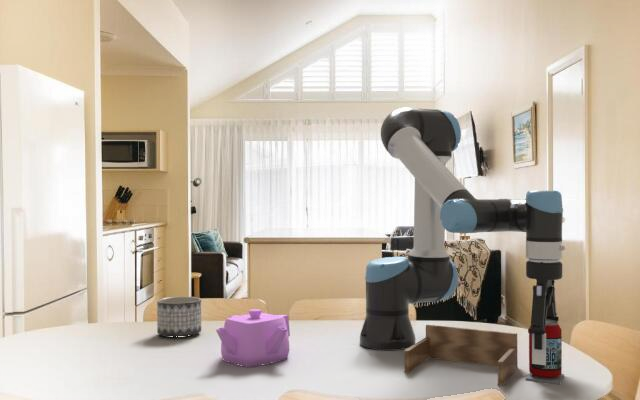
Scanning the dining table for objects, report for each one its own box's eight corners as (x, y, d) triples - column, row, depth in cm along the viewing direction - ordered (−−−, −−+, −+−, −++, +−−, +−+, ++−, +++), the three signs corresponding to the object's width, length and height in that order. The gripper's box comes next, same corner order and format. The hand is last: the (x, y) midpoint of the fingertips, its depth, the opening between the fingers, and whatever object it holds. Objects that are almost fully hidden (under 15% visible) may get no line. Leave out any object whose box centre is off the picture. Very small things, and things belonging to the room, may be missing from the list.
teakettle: (290, 350, 162) (290, 303, 162) (287, 368, 145) (287, 315, 145) (225, 351, 162) (225, 304, 162) (215, 369, 145) (215, 316, 145)
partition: (404, 372, 140) (404, 337, 140) (427, 356, 154) (426, 324, 154) (502, 385, 130) (502, 347, 130) (517, 367, 144) (517, 333, 144)
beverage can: (537, 380, 132) (537, 324, 132) (524, 371, 138) (523, 318, 138) (567, 379, 132) (567, 324, 132) (552, 371, 139) (552, 318, 139)
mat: (525, 379, 134) (525, 378, 134) (531, 371, 140) (531, 370, 140) (559, 384, 130) (559, 382, 130) (564, 375, 137) (564, 374, 137)
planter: (210, 333, 183) (210, 298, 183) (179, 341, 173) (179, 304, 173) (179, 329, 190) (179, 295, 190) (148, 336, 179) (147, 301, 179)
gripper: (554, 267, 122) (554, 373, 123) (569, 256, 144) (569, 346, 144) (515, 265, 126) (515, 368, 126) (535, 254, 148) (535, 342, 148)
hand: (544, 356), depth 135 cm, fingers open, 13 cm apart
